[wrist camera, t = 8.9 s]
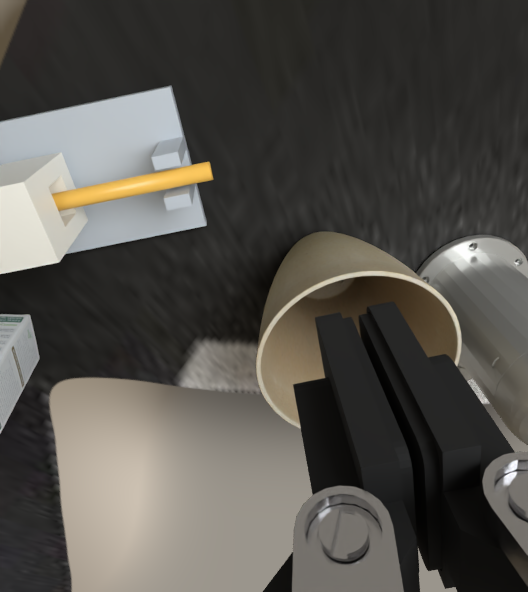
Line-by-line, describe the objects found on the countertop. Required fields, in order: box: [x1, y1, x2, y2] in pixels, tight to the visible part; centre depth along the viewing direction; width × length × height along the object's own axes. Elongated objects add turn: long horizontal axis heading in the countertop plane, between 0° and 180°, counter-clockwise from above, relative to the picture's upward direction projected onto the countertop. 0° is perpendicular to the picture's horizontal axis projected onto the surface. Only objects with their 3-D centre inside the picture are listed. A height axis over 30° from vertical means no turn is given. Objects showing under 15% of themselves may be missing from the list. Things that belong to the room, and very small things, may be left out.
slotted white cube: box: [0, 152, 88, 274], centre depth 37 cm, size 6×5×8 cm
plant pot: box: [256, 231, 462, 429], centre depth 41 cm, size 15×15×16 cm
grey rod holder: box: [0, 86, 213, 254], centre depth 39 cm, size 12×22×8 cm, turn 100°
